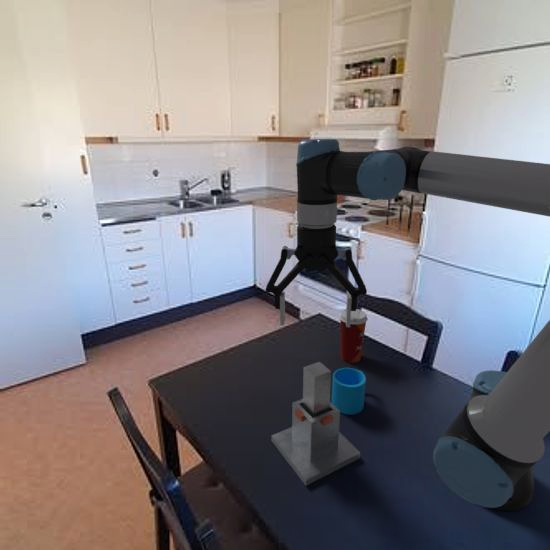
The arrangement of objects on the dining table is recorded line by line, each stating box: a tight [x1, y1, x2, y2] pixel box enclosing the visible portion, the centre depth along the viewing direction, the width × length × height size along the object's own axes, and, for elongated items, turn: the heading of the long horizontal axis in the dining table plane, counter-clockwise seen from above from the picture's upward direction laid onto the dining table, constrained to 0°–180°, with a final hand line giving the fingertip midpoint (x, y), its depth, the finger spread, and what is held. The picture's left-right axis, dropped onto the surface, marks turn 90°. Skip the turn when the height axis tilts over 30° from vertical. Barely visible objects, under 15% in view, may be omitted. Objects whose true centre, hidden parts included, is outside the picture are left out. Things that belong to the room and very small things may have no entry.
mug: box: [331, 367, 367, 416], centre depth 103 cm, size 12×8×8 cm
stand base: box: [270, 398, 361, 487], centre depth 86 cm, size 14×14×12 cm
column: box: [302, 361, 332, 418], centre depth 84 cm, size 4×4×19 cm
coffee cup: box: [339, 308, 368, 364], centre depth 120 cm, size 8×8×15 cm
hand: (315, 323), depth 84 cm, fingers open, 13 cm apart
